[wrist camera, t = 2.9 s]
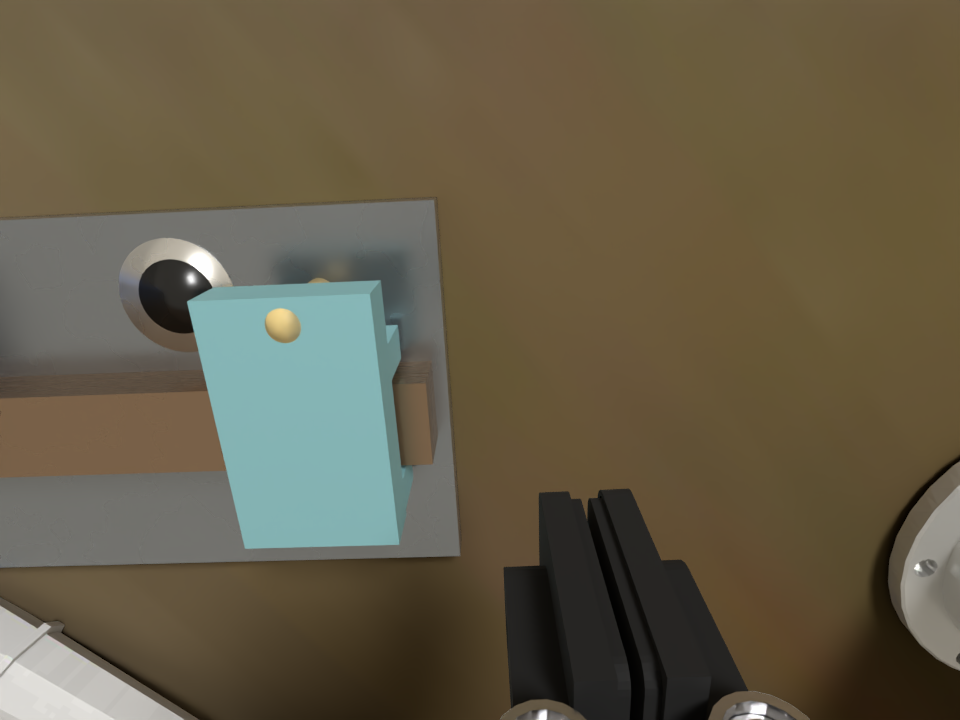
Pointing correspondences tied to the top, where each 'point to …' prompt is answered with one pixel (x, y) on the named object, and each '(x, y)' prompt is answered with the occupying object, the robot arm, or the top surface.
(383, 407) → the teal rail module
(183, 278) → the bolt plate
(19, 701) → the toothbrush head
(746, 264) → the top surface
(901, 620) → the robot arm
